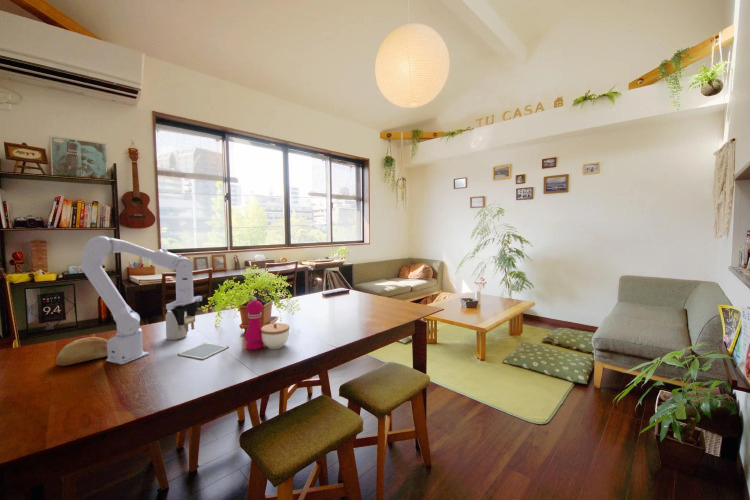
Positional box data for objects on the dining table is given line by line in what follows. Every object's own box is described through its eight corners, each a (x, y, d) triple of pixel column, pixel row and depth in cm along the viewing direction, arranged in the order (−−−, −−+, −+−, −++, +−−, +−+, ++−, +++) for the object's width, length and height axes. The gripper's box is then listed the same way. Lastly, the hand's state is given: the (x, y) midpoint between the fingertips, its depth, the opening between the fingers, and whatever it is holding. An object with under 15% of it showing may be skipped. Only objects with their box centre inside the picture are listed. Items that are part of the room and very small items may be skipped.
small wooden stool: (195, 328, 124) (195, 316, 124) (187, 332, 120) (186, 319, 120) (185, 327, 125) (185, 315, 125) (176, 330, 122) (176, 318, 121)
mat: (202, 360, 112) (202, 358, 112) (177, 355, 116) (177, 353, 116) (228, 347, 123) (228, 346, 123) (204, 343, 127) (204, 342, 127)
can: (191, 335, 136) (190, 307, 135) (178, 341, 129) (177, 312, 128) (175, 334, 137) (174, 307, 136) (161, 340, 130) (160, 311, 129)
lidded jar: (255, 348, 123) (254, 324, 122) (274, 339, 133) (274, 317, 132) (276, 353, 118) (275, 329, 118) (294, 344, 128) (294, 321, 127)
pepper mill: (258, 351, 120) (258, 299, 119) (241, 349, 121) (240, 298, 120) (267, 344, 127) (267, 295, 126) (251, 342, 128) (250, 294, 127)
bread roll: (116, 358, 112) (115, 336, 112) (57, 372, 101) (55, 348, 101) (112, 350, 119) (111, 330, 118) (56, 362, 108) (54, 340, 107)
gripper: (176, 293, 113) (177, 330, 115) (207, 286, 127) (208, 319, 128) (161, 292, 115) (162, 328, 116) (193, 284, 129) (194, 317, 130)
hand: (185, 323), depth 123 cm, fingers closed on small wooden stool, 4 cm apart
